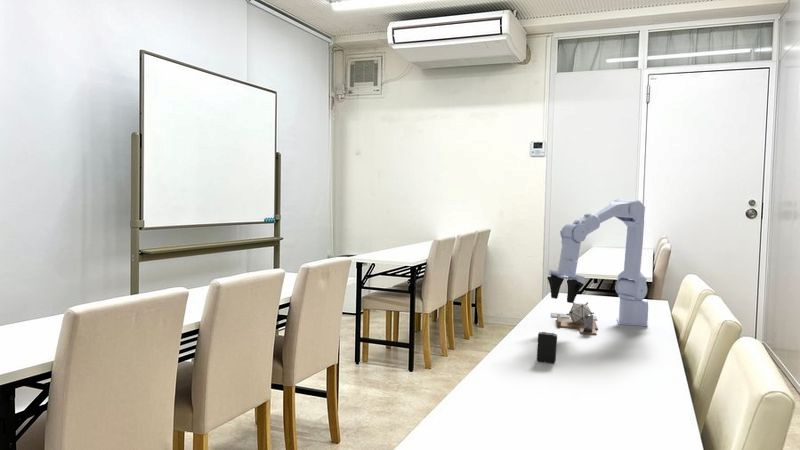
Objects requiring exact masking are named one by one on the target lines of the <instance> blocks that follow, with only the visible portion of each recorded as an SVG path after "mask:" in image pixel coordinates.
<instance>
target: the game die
mask: <svg viewBox="0 0 800 450" xmlns="http://www.w3.org/2000/svg"><path fill="white" fill-rule="evenodd" d="M588 304H589V302H588V301H587V302H586V303H576V302H575V301H574V302H573V303H572V306H571V308H570V311H569V312H568V313H566V314H567V315H569V316H570V319H572V321H573V324H584V314H591V315H594V314H595V312H592V311H591V309H590V307H589V306H588Z"/></svg>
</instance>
